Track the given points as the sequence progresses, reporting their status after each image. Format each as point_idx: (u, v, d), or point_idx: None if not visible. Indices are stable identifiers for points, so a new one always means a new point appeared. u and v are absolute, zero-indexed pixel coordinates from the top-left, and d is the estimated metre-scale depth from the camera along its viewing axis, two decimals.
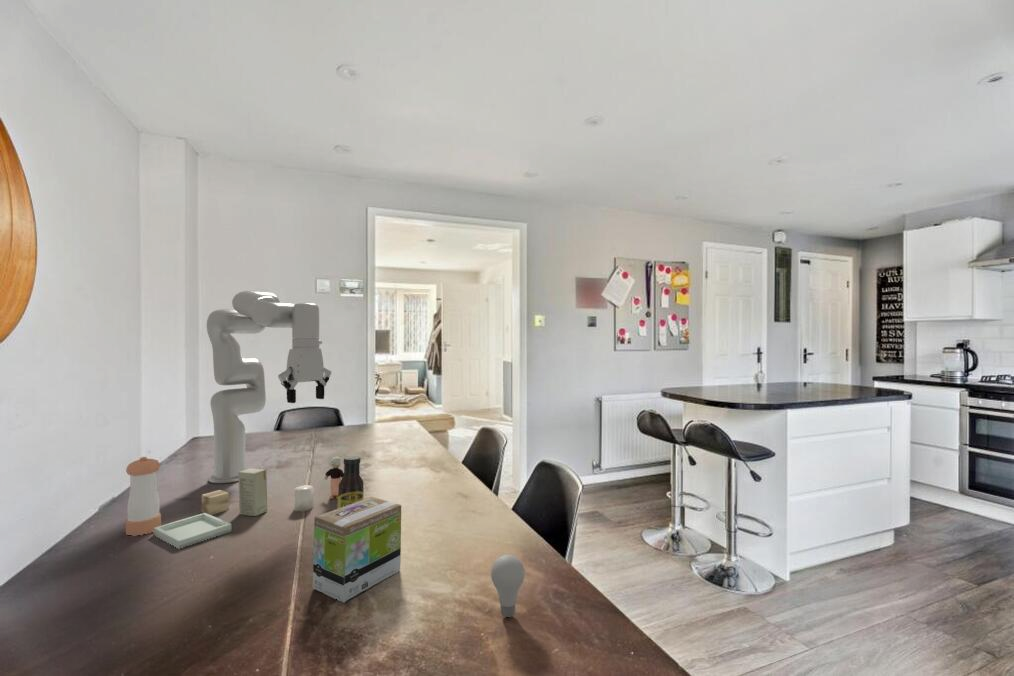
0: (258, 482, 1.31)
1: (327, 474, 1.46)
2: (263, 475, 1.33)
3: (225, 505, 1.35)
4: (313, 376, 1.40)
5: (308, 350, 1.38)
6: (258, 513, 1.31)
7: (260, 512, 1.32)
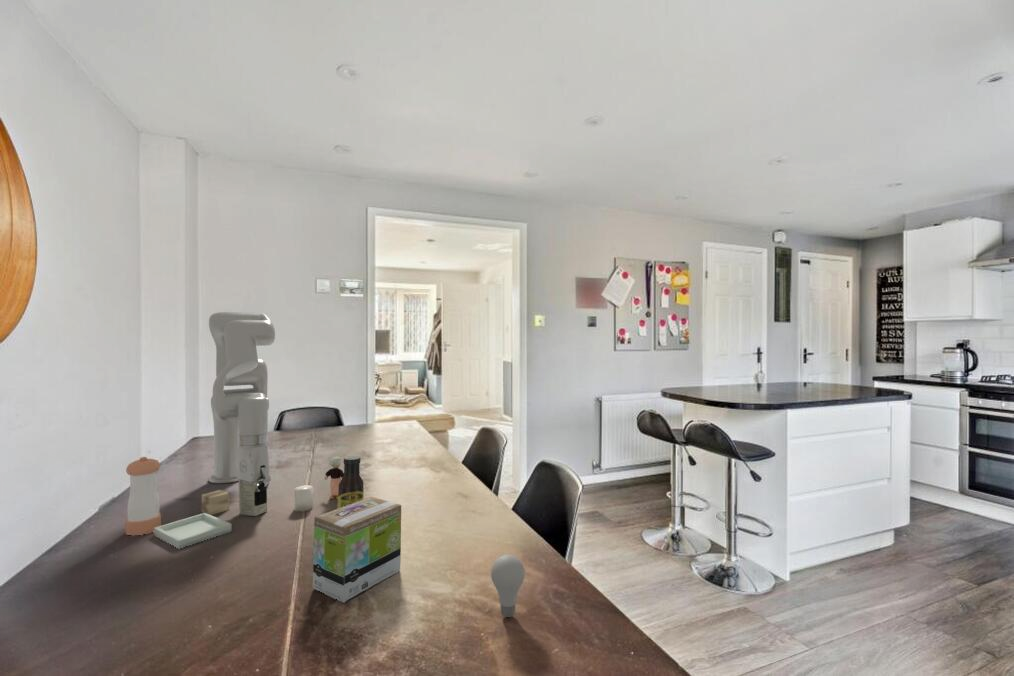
0: (258, 482, 1.31)
1: (327, 474, 1.46)
2: None
3: (225, 505, 1.35)
4: None
5: None
6: (258, 513, 1.31)
7: (260, 512, 1.32)
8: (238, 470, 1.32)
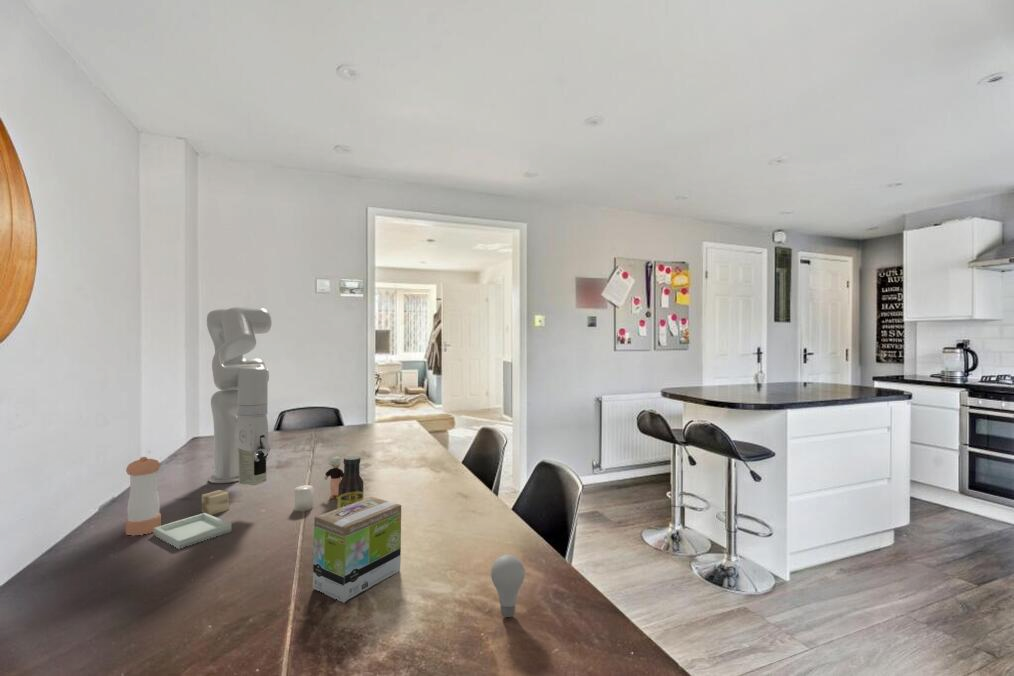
0: (258, 452, 1.32)
1: (327, 474, 1.46)
2: None
3: (225, 505, 1.35)
4: None
5: None
6: (257, 482, 1.32)
7: (259, 482, 1.32)
8: (238, 440, 1.32)
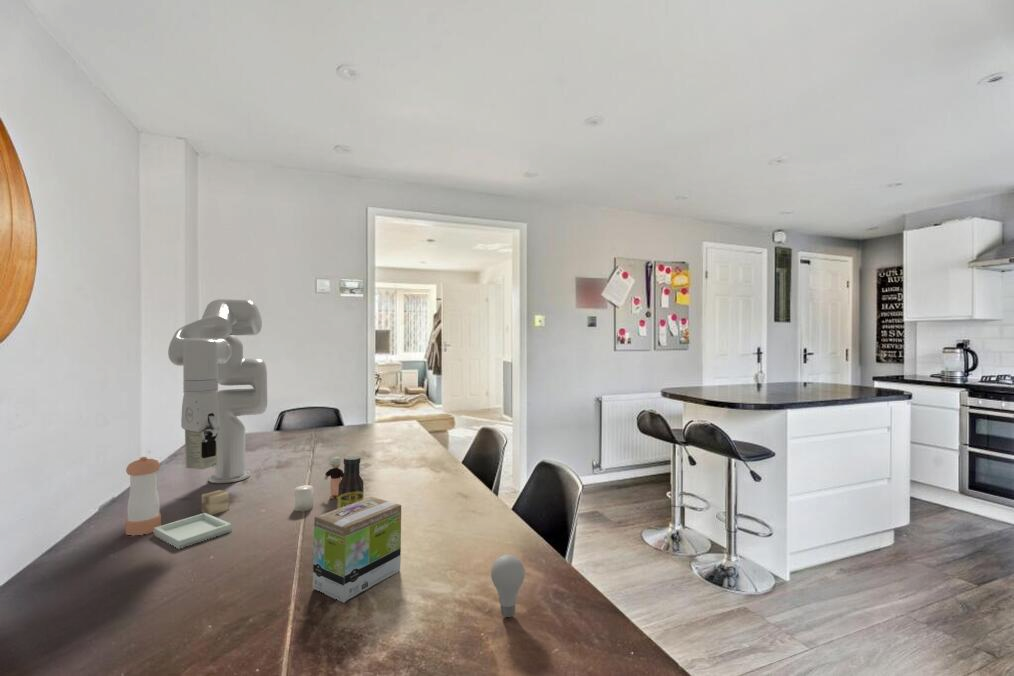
0: None
1: (327, 474, 1.46)
2: None
3: (225, 505, 1.35)
4: None
5: None
6: (206, 466, 1.19)
7: (208, 465, 1.19)
8: (184, 419, 1.20)
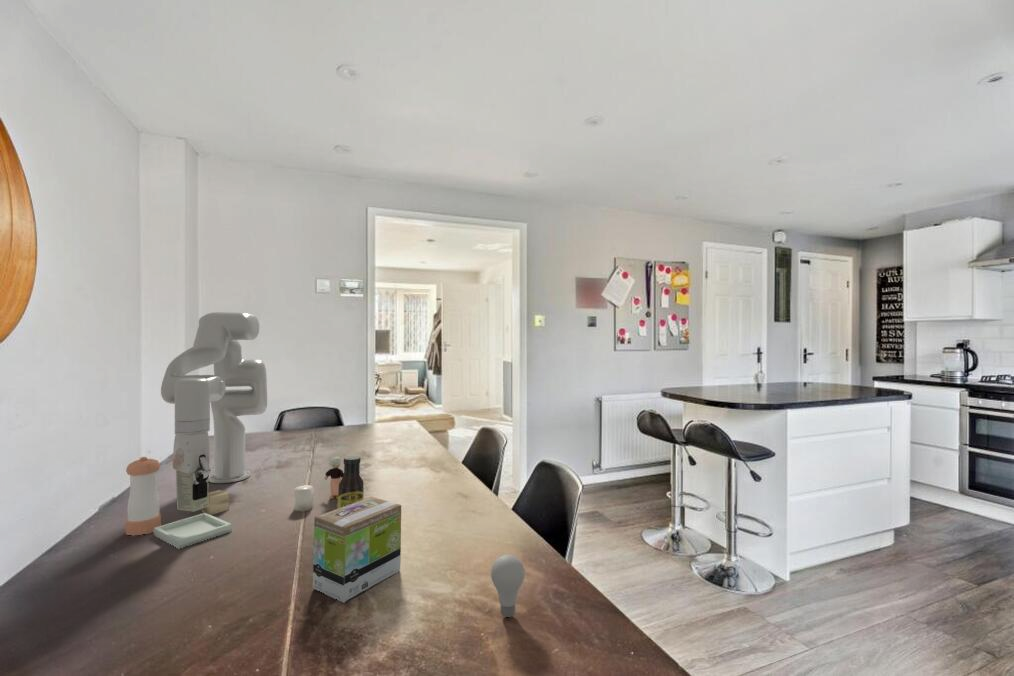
0: (197, 474, 1.17)
1: (327, 474, 1.46)
2: None
3: (225, 505, 1.35)
4: None
5: None
6: (197, 508, 1.17)
7: (200, 507, 1.18)
8: (175, 460, 1.18)
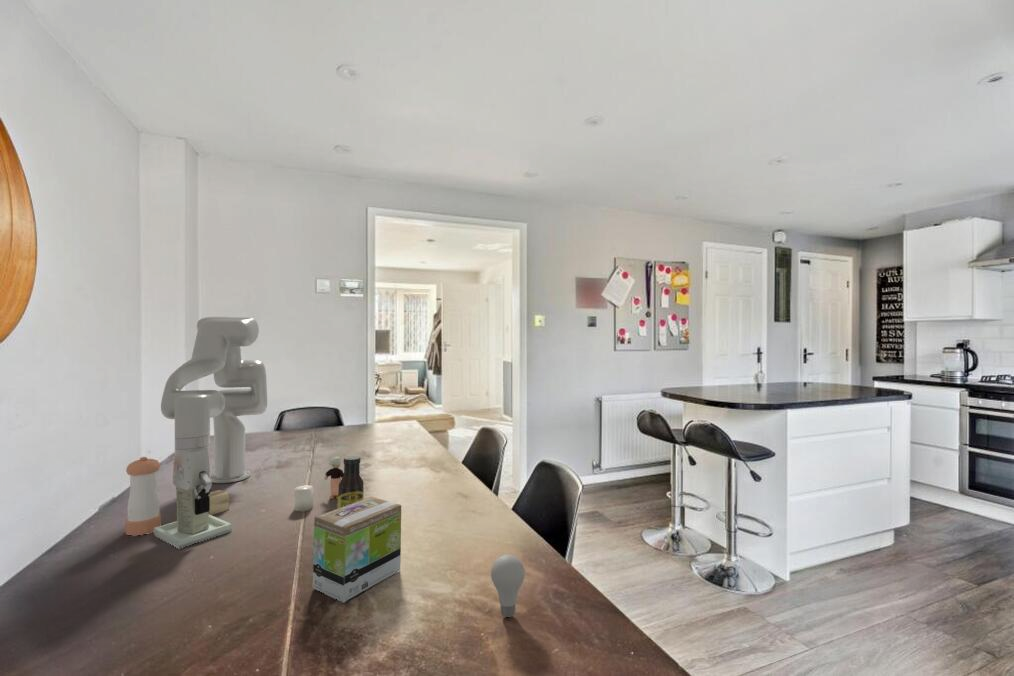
0: None
1: (327, 474, 1.46)
2: (203, 488, 1.19)
3: (225, 505, 1.35)
4: None
5: None
6: (197, 530, 1.17)
7: (199, 529, 1.18)
8: (175, 476, 1.18)
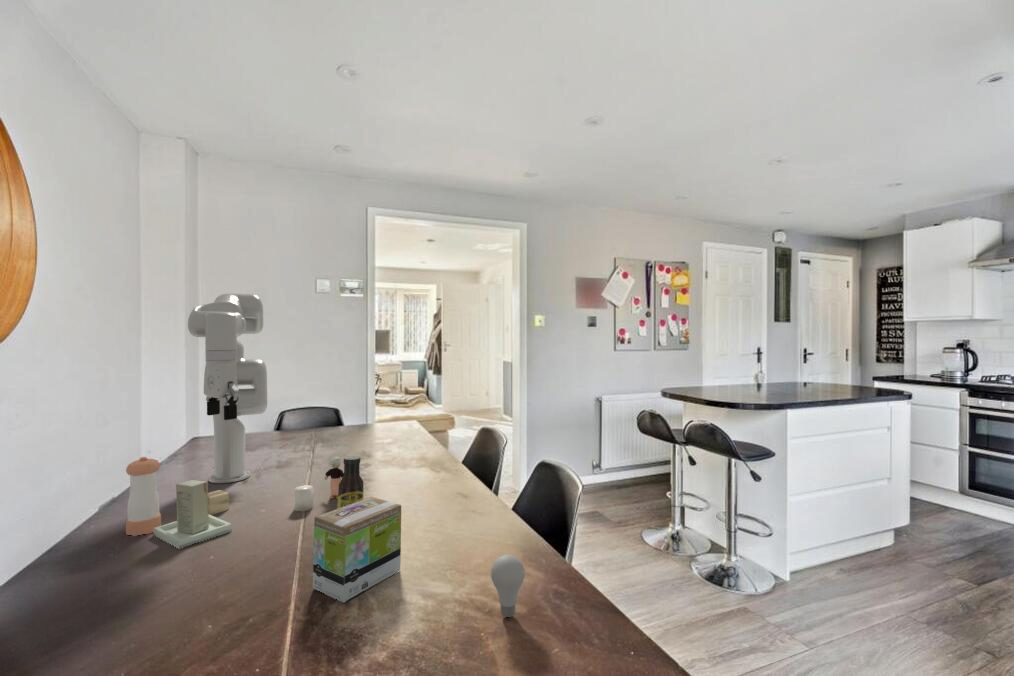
0: (197, 496, 1.18)
1: (327, 474, 1.46)
2: (203, 488, 1.19)
3: (225, 505, 1.35)
4: None
5: None
6: (197, 530, 1.17)
7: (199, 529, 1.18)
8: (206, 386, 1.30)
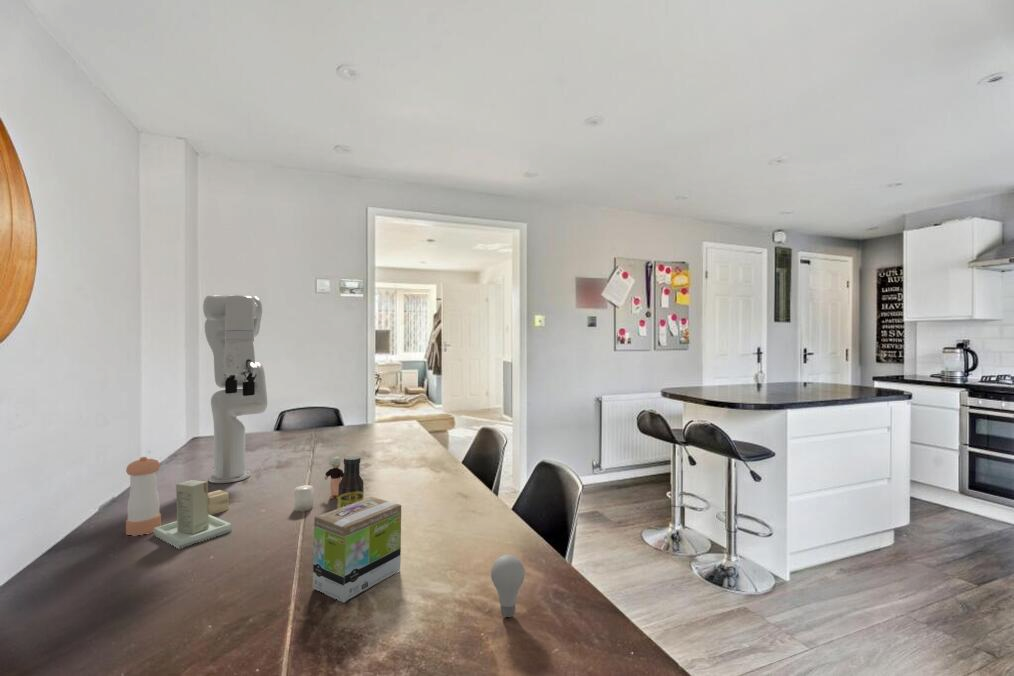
0: (197, 496, 1.18)
1: (327, 474, 1.46)
2: (203, 488, 1.19)
3: (225, 505, 1.35)
4: None
5: None
6: (197, 530, 1.17)
7: (199, 529, 1.18)
8: (225, 365, 1.38)
